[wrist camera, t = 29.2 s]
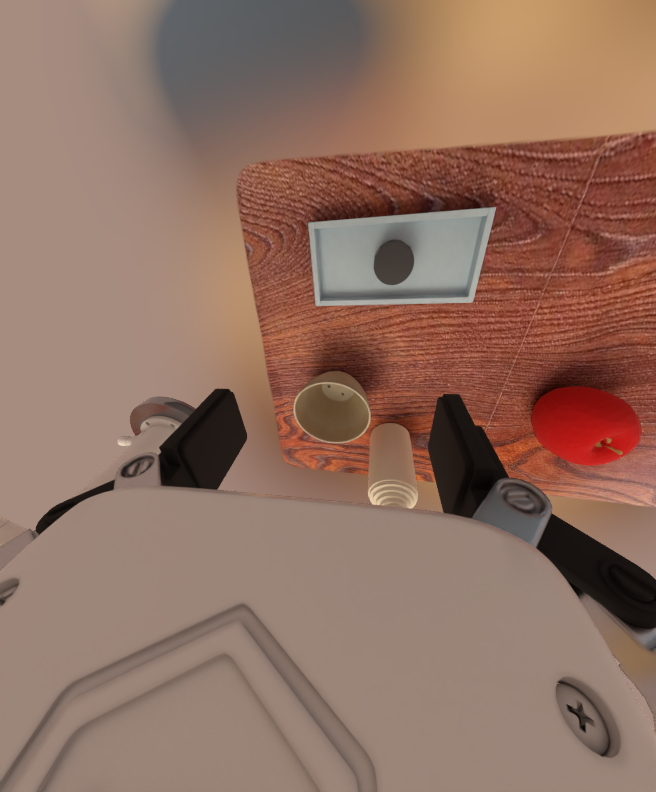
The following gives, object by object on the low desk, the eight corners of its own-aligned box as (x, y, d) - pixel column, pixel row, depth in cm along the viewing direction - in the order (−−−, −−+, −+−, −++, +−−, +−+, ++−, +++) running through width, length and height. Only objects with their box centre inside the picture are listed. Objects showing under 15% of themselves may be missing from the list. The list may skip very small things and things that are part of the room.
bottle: (370, 450, 45) (366, 540, 32) (370, 421, 41) (366, 510, 28) (408, 452, 43) (419, 546, 31) (411, 423, 40) (426, 517, 27)
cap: (416, 268, 27) (420, 272, 25) (383, 287, 29) (383, 292, 27) (403, 231, 26) (405, 232, 23) (368, 253, 27) (367, 256, 25)
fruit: (620, 398, 32) (701, 458, 24) (550, 438, 37) (597, 499, 29) (569, 360, 31) (638, 411, 22) (503, 408, 36) (540, 463, 28)
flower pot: (298, 359, 37) (283, 386, 31) (367, 351, 34) (365, 378, 28) (314, 414, 42) (303, 445, 36) (375, 410, 40) (374, 442, 34)
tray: (318, 301, 32) (315, 306, 30) (312, 222, 27) (307, 222, 25) (467, 298, 29) (473, 302, 27) (488, 207, 24) (496, 206, 22)
